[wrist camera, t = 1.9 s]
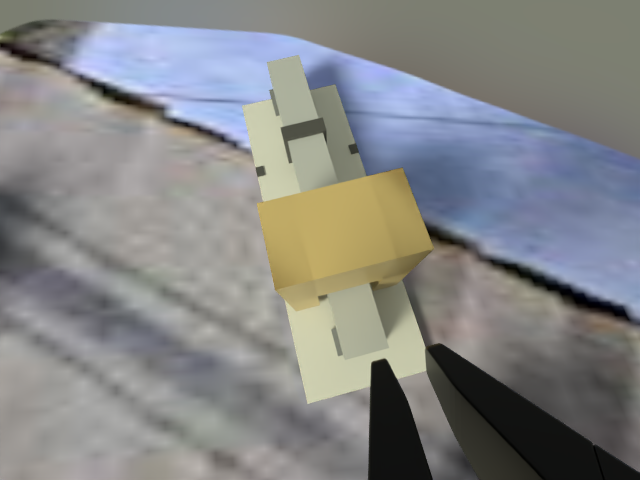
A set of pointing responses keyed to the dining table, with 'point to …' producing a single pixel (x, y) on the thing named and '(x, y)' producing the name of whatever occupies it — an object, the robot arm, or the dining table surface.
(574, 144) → the dining table surface
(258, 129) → the pipe stand
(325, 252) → the sleeve
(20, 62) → the dining table surface
